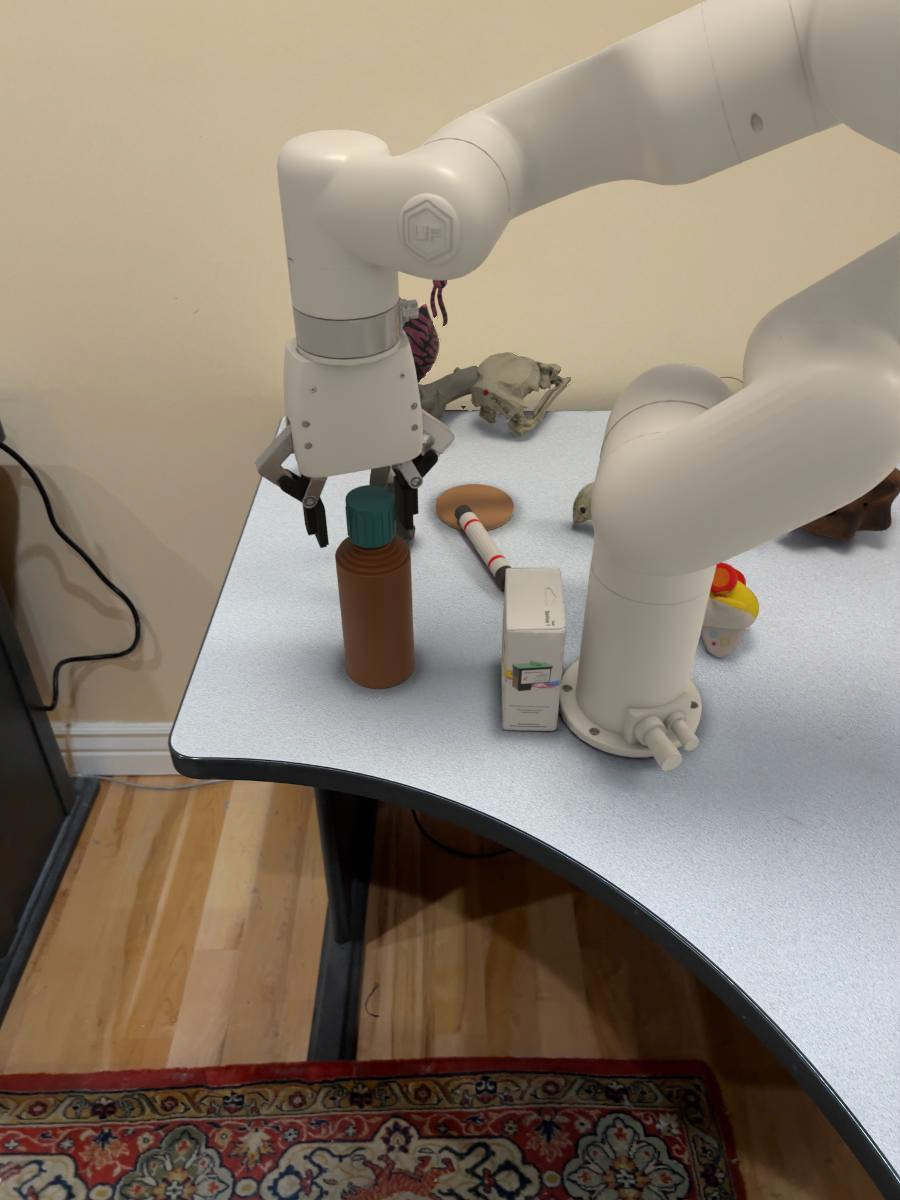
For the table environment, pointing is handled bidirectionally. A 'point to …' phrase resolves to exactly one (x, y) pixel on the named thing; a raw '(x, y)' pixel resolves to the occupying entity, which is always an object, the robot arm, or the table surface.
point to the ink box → (532, 648)
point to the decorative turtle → (860, 512)
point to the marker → (483, 543)
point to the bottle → (376, 612)
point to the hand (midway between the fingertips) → (362, 528)
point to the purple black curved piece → (426, 332)
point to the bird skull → (515, 389)
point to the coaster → (476, 505)
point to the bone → (447, 390)
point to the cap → (370, 516)
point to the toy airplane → (728, 611)
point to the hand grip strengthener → (386, 480)
